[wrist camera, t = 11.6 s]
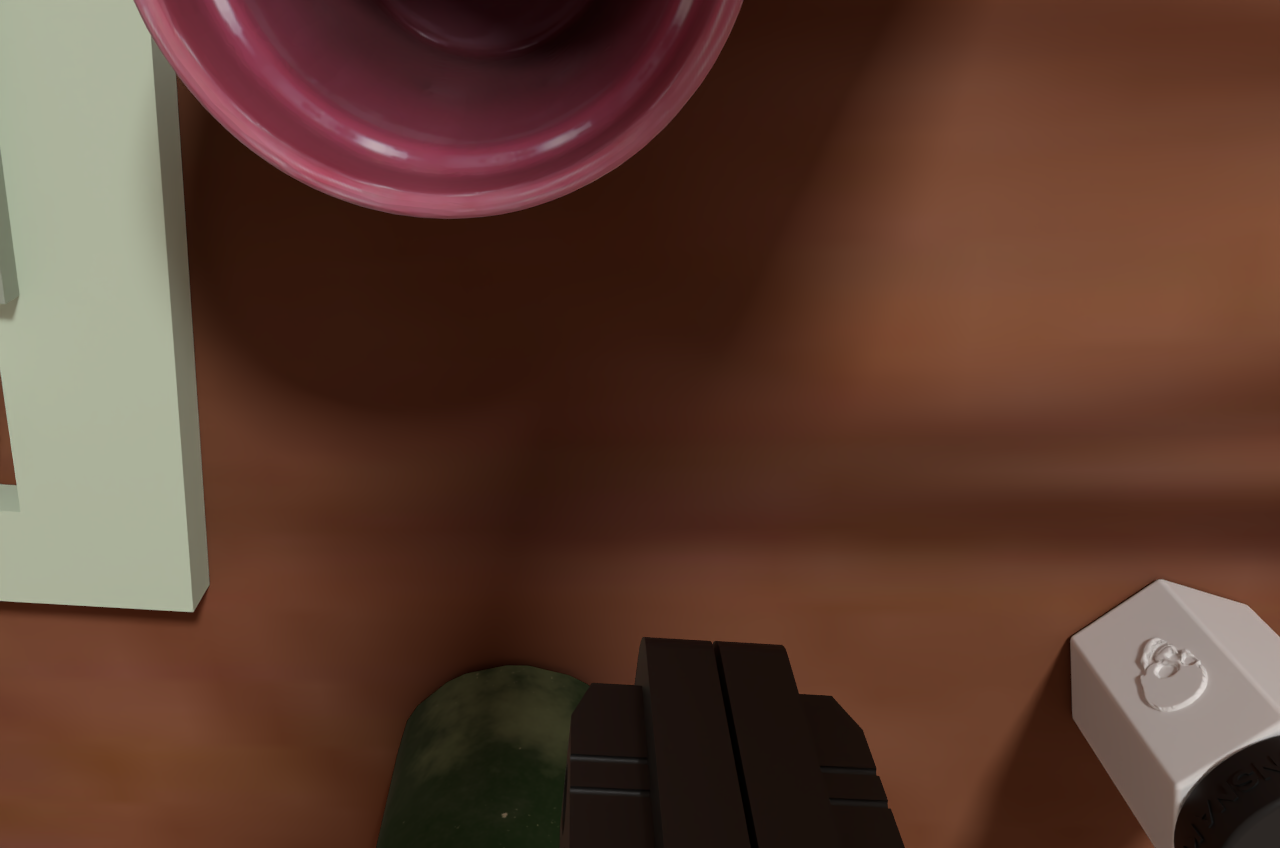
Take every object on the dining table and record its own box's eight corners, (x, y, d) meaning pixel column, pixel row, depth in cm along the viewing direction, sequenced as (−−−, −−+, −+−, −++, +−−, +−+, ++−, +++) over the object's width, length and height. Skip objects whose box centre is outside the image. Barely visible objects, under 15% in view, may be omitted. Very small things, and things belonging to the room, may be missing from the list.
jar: (1200, 542, 45) (1397, 731, 34) (1286, 659, 48) (1493, 868, 37) (1023, 660, 47) (1155, 874, 37) (1115, 766, 50) (1264, 994, 39)
